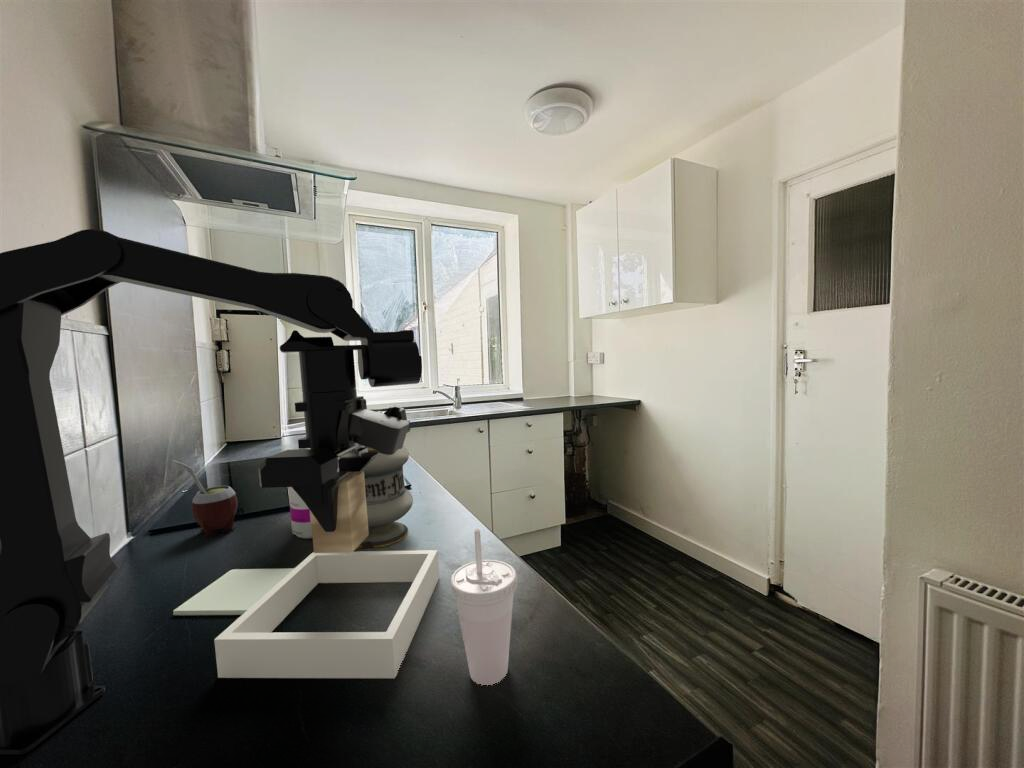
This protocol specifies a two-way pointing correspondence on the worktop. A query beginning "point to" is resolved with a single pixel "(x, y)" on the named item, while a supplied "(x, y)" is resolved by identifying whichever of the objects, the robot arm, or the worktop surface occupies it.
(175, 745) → the worktop surface
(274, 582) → the sage mat
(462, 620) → the smoothie
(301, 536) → the supplement can
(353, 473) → the maple block
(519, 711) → the worktop surface
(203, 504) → the mate gourd
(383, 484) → the apothecary jar
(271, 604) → the white square frame
